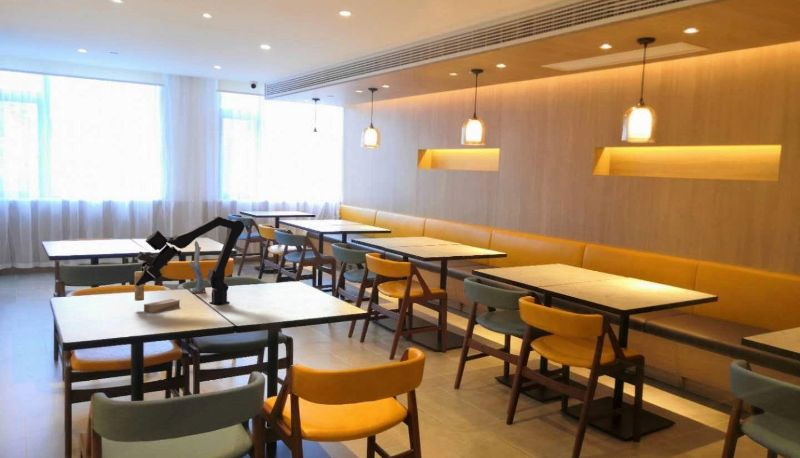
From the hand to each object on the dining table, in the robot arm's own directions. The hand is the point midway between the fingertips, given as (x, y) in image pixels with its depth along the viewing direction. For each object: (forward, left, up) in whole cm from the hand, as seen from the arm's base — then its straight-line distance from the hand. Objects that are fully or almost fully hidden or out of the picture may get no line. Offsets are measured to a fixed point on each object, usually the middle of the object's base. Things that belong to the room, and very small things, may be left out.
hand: (135, 284), depth 243 cm
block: (-7, -8, -11) cm, 15 cm away
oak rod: (-1, -1, -7) cm, 7 cm away
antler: (+11, -43, -11) cm, 46 cm away
